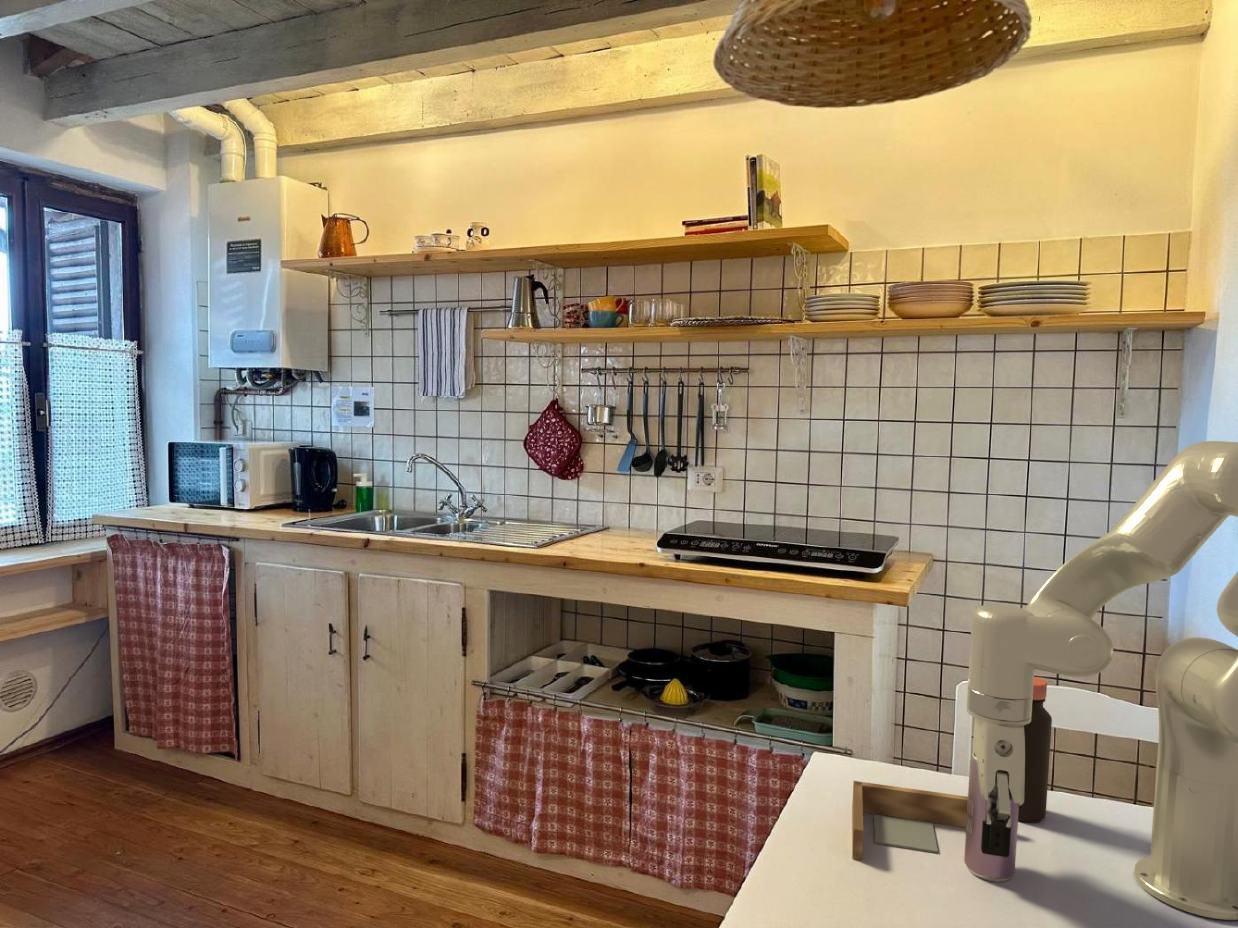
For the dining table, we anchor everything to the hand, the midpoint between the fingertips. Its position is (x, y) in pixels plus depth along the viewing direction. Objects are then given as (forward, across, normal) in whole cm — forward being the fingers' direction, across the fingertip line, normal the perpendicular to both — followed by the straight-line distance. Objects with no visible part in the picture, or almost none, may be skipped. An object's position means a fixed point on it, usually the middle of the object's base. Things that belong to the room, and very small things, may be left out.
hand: (990, 839), depth 108 cm
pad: (+4, +6, +10) cm, 13 cm away
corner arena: (+4, +5, +7) cm, 9 cm away
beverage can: (+4, 0, 0) cm, 4 cm away
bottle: (+4, +19, -7) cm, 21 cm away
